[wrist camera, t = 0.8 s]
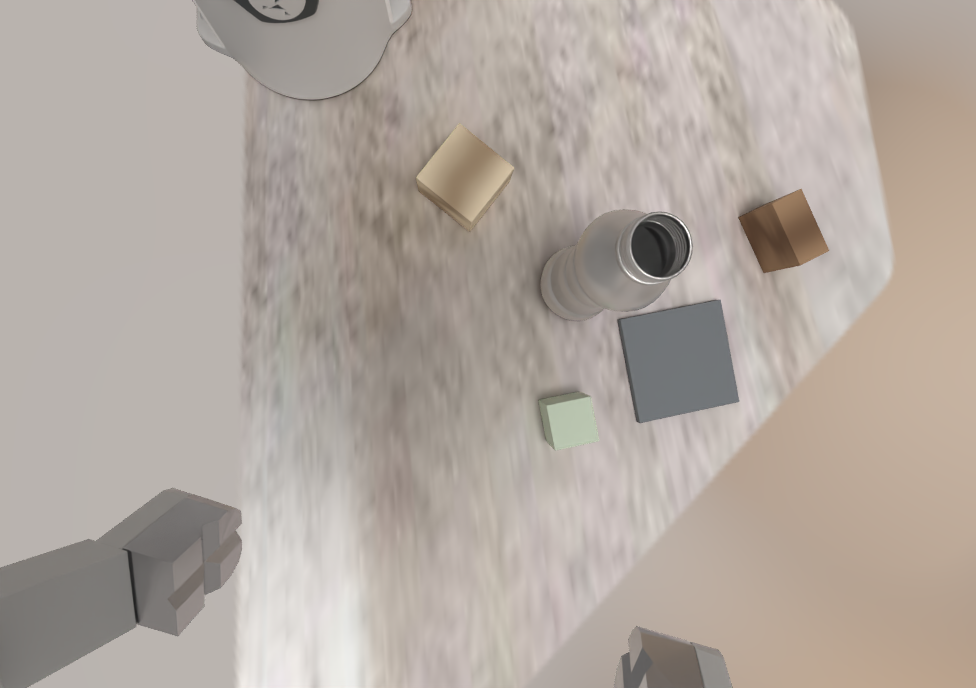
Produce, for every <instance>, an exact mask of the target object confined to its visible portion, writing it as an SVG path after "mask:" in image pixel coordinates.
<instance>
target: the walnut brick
mask: <svg viewBox="0 0 976 688" xmlns="http://www.w3.org/2000/svg"><path fill="white" fill-rule="evenodd" d="M738 218H739V220H740V222H741V225H742V227H743V229H744V231H745V233H746V235H747V238H748V240H749V242H750V244H751V246H752V249H753V251H754V253H755V255H756V257H757V259H758V262H759V264H760V266H761V268H762V270H763V273H766V272H771V271H776V270H781V269H785V268H790V267H795V266H800V265H802V264H804V263H806V262H808V261H810V260H812V259H814V258H816V257H818V256H820V255H822V254H824V253H826V252H828V251H829V249H828V247H827V245H826V243H825V240H824V238H823V236H822V234H821V231H820V229H819V227H818V225H817V223H816V220H815V218H814V216H813V214H812V211H811V209H810V207H809V205H808V203H807V200H806V198H805V196H804V194H803V191H802V189H800V190H797V191H795V192H793V193H790V194H788V195H786V196H783V197H781V198H779V199H776V200H774V201H772V202H769V203H767V204H765V205H763V206H761V207H759V208H757V209H755V210H753V211H750V212H748V213H746V214H744V215H742V216H740V217H738Z"/></svg>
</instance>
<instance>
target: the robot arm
mask: <svg viewBox="0 0 976 688" xmlns="http://www.w3.org/2000/svg"><path fill="white" fill-rule="evenodd" d="M192 1H193V2H194V4H195V5H196V7H197V30H198V33H199V35H200V37H201V38H202V40H203V41H204V42H205V44H206V45H207V46H209V47H210V48H212V49H214V50H216V51H218V52H220V53H222V54H224V55H227V56H229V57H232V58H233V59H235V60H236V61H237V62H238V63H239V64H241V65H242V66H243V68H244V69H245V70H246V71H247V72H248V73H249V74H250V75H251V76H252V77H254V78H255V79H256V80H257V81H258V82H260V83H261V84H263V85H264V86H266V87H267V88H269V89H271V90H273V91H275V92H277V93H280V94H282V95H285V96H289V97H293V98H298V99H311V100H313V99H324V98H329V97H333V96H336V95H339V94H342V93H344V92H346V91H348V90H350V89H352V88H354V87H355V86H357V85H358V84H359V83H361V82H362V81H363V80H364V79H365V78H366V77H367V76H368V75H369V74H370V73H371V72H372V71H373V69H374V68H375V67H376V65H377V64H378V62H379V60H380V58H381V56H382V54H383V52H384V50H385V47H386V45H387V42H388V40H389V38H390V37H391V35H392V34H393V33H394V32H395V31H396V30H397V29H398V28H400V27H401V26H402V25H403V24H404V23H405V22H406V21H407V19H408V18H409V17H410V15H411V13H412V4H411V0H192ZM241 524H242V520H241V511H240V510H238V509H236V508H234V507H231V506H228V505H225V504H221V503H219V502H216V501H213V500H209V499H206V498H203V497H200V496H197V495H193V494H190V493H187V492H184V491H181V490H178V489H174V488H171V489H168V490H164V491H163V492H161V493H159V494H158V495H157V496H155V497H154V498H153V499H151V500H150V501H149V502H147V503H146V504H145V505H144V506H142V507H141V508H139V509H138V510H137V511H135V512H134V513H133V514H131V515H130V516H129V517H127V518H126V519H125V520H123V521H122V522H121V523H119V524H118V525H117V526H115V527H114V528H113V529H111V530H110V531H108V532H107V533H106V534H104V535H103V536H102V537H101V538H99V539H98V540H96V541H94V540H90V539H87V540H84V541H82V542H78V543H75V544H72V545H69V546H66V547H63V548H60V549H56V550H53V551H50V552H47V553H44V554H41V555H38V556H35V557H32V558H29V559H26V560H22V561H19V562H16V563H13V564H10V565H7V566H4V567H1V568H0V688H27V687H29V686H31V685H32V684H34V683H36V682H38V681H40V680H41V679H43V678H45V677H47V676H49V675H51V674H52V673H54V672H56V671H58V670H60V669H61V668H63V667H65V666H67V665H69V664H70V663H72V662H74V661H76V660H78V659H79V658H81V657H83V656H85V655H87V654H88V653H90V652H92V651H94V650H96V649H97V648H99V647H101V646H103V645H104V644H106V643H108V642H110V641H112V640H114V639H115V638H117V637H119V636H121V635H123V634H124V633H126V632H128V631H130V630H131V629H133V628H135V627H136V624H138V625H141V626H145V627H148V628H151V629H155V630H158V631H162V632H165V633H169V634H172V635H175V636H179V635H180V633H181V632H182V631H183V630H184V629H185V628H186V627H187V626H188V625H189V623H190V622H191V621H192V620H193V619H194V617H196V615H197V614H198V613H199V612H200V611H201V610H202V609H203V608H204V605H205V595H206V594H208V593H211V592H213V591H215V590H217V589H219V588H221V587H222V586H223V585H224V583H225V582H226V581H227V580H228V579H229V577H230V576H231V575H232V573H233V571H234V569H235V567H236V566H237V564H238V562H239V559H240V555H241V551H242V540H241V538H240V537H239V535H238V534H237V532H236V531H235V530H236V529H237V528H238V527H239V526H240V525H241ZM628 643H629V652H628V653H626V654H624V655H623V656H621V659H620V662H619V665H618V667H617V671H616V677H615V684H614V688H733V687H732V684H731V681H730V677H729V674H728V671H727V668H726V664H725V661H724V658H723V655H722V654H721V652H720V651H719V650H717V649H714V648H710V647H707V646H703V645H700V644H696V643H693V642H688V641H687V640H683V639H680V638H676V637H673V636H669V635H666V634H662V633H658V632H655V631H652V630H648V629H645V628H641V627H638V626H636V627H635V628H634V629H633V630H632V632H631V635H630V637H629V639H628Z"/></svg>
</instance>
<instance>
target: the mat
mask: <svg viewBox="0 0 976 688" xmlns="http://www.w3.org/2000/svg"><path fill="white" fill-rule="evenodd" d="M618 325H619V330H620V336H621V341H622V346H623V351H624V357H625V362H626V367H627V373H628V378H629V383H630V388H631V394H632V399H633V404H634V410H635V415H636V420H637V422H639V423H643V422H648V421H652V420H657V419H662V418H666V417H671V416H675V415H680V414H685V413H689V412H694V411H699V410H703V409H708V408H713V407H717V406H722V405H726V404H731V403H736V402H739V398H738V392H737V387H736V381H735V376H734V370H733V365H732V360H731V354H730V349H729V343H728V338H727V332H726V327H725V321H724V316H723V310H722V305H721V300H715V301H710V302H705V303H700V304H695V305H690V306H685V307H680V308H675V309H670V310H665V311H660V312H655V313H650V314H645V315H640V316H635V317H630V318H625V319H620V320H618Z"/></svg>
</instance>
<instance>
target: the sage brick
mask: <svg viewBox="0 0 976 688" xmlns="http://www.w3.org/2000/svg"><path fill="white" fill-rule="evenodd" d="M538 401H539V406H540V411H541V417H542V422H543V427H544V432H545V437H546V441H547V442H548V443H549V445H550V446H551V447H552V448H553V449H554V450H555V451H556V450H560V449H565V448H570V447H574V446H579V445H584V444H588V443H593V442H597V441H599V437H598V431H597V426H596V421H595V416H594V410H593V405H592V400H591V396H589V395H586V394H584V393H581V392H574V393H569V394H565V395H560V396H555V397H550V398H545V399H541V400H538Z"/></svg>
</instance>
